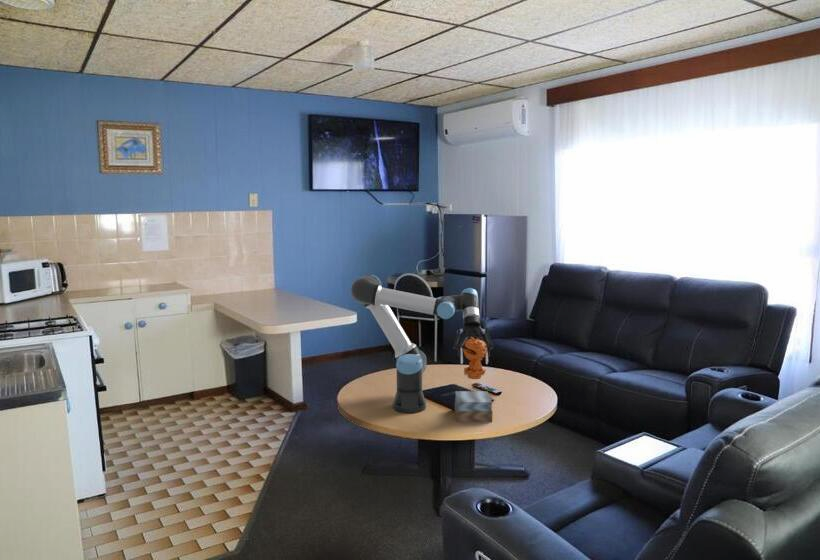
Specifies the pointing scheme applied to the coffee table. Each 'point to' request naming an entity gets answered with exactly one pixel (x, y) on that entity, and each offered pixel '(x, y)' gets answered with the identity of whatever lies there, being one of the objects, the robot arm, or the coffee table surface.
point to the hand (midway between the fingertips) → (474, 362)
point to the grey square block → (473, 406)
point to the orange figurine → (474, 358)
